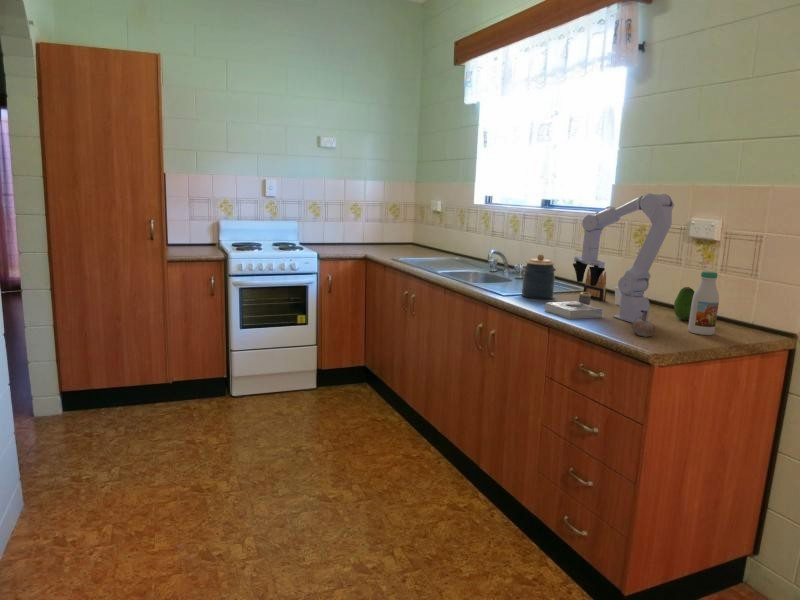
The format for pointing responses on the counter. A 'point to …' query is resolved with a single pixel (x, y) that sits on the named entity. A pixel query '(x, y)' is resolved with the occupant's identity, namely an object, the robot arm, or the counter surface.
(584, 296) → the bushing
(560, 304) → the block
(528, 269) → the canister
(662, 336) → the counter surface
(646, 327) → the garlic bulb
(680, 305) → the avocado
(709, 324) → the milk bottle
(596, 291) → the ammunition clip
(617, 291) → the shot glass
